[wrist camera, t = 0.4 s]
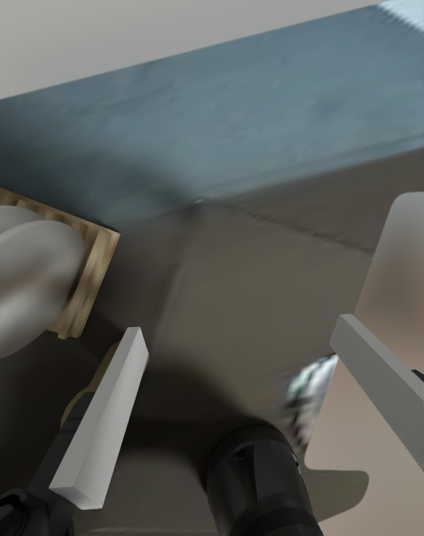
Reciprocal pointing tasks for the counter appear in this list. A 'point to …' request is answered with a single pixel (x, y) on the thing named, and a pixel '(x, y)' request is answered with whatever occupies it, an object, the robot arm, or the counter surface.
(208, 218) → the counter surface
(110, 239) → the rack
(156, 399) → the counter surface
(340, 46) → the counter surface
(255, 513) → the robot arm
